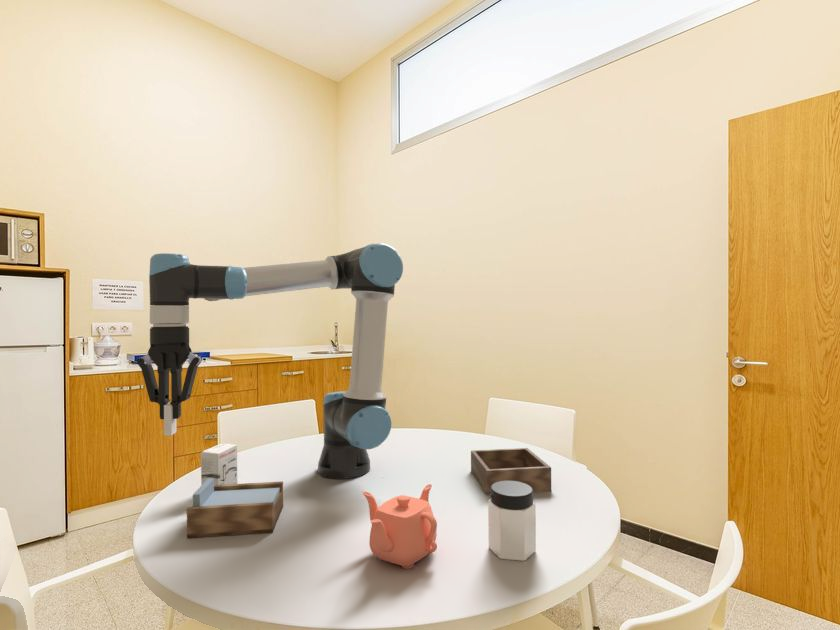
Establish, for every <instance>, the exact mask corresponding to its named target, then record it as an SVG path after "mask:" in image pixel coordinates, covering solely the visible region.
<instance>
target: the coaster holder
mask: <svg viewBox="0 0 840 630" xmlns="http://www.w3.org/2000/svg"><path fill="white" fill-rule="evenodd" d="M470 472H471V473H472V475H473V476H474V478H475V479H476V481H477V483H479V485H480V487H481V488H482V490H483V491H484V492H485V494H486V495H490V490H491V485H492V484H494V483H496V482H499V481H518V482H522V483H525V484H527V485H529V486H531V487H532V489H533V493H535V492H536V493H537V492H551V491H552V467H551V466H550V465H549V464H548V463H547V462H545V461H544V460H543V459H542V458H541V457H539V456H538V455H537V454H535V452H533V451H532V450H530V449H529V448H528V447H521V448H520V447H518V448H497V449H478V450H477V449H474V450H472V449H471V450H470Z"/></svg>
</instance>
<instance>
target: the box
mask: <svg viewBox="0 0 840 630" xmlns="http://www.w3.org/2000/svg"><path fill="white" fill-rule="evenodd" d="M277 487H280V493H279V495H278V497H277V500H276V502H275V504H274V506H273V502H267V503H250V504H232V505H215V506H198V507H193V506H188V507H187V508H186V539H198V538H199V539H200V538H213V537H214V538H215V537H227V536H228V537H229V536H243V535H246V536H247V535H259V534H273V532H274V531H275V528H276V525H277V523H278V522H279V521H278V520H279V518H280V516H281V513H282V510H283V508H284V481H268V482H267V481H266V482H264V481H263V482H248V483H245V482H244V483H237V484H226V485H214V491H221V490H240V489H258V488H277Z"/></svg>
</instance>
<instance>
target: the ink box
mask: <svg viewBox="0 0 840 630" xmlns="http://www.w3.org/2000/svg"><path fill="white" fill-rule="evenodd" d="M200 474H201V475H200V476H201V477H200V478H201V479H200V480H201V484H200V486H201V485H202V484H203V483H204V482H205V481H206V480H207V479H214V485H226V484H238V444H233V443H220V444H217V445H214V446H212V447H210V448H207V449H204V450H202V452H200Z"/></svg>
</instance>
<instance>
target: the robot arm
mask: <svg viewBox="0 0 840 630" xmlns="http://www.w3.org/2000/svg"><path fill="white" fill-rule="evenodd" d="M149 259H150V260H149V277H148V279H149V280H148V282H149V324H150V325H152V326H150V328H149V346H150V347H149V349H148V350H147V354H146V355H144V356H142V357H139V358H137V359H136V360H135V361H136V363H137V365H138V366H139V368H140V369H141V372H142V376H143V380H144V384H145V388H146V391H147V395H148V398H149V401H150V402H151V403H156V404H158V405H159V419H160V420H163V436H165V437H166V436H173V435H174V434H176V433H177V431H178V430H177V429H178V428H177V425H178V423H177V420H178V419H180V418H181V415H182V402H185V401H188V400H189V399H190V398H191V395H192V391H193V387H194V384H195V380H196V375H197V372H198V368H199V366H200V364H201V362H202V361H203V357H202V356H200V355H199V356H198V355H196V354H194V353H192V348H191V347H190V327H189V326H187V324H189V323H190V302H189V301H190V299H204V300H206V301H207V302H216V301H220V300H240V299H241V300H242V299H244V298H245V297H251V296H260V295H268V294H278V293H284V292H285V293H286V292H293V291H294V292H295V291H301V290H310V289H311V290H312V289H320V288H326V287H328V288H329V289H331V290H341V289H347V290H348V289H349V290H350V294H352V296H353V297H354V298H355V312H354V322H353V337H352V350H351V361H350V362H351V363H350V374H349V375H350V376H349V387H348V389H347V390H344V391H343V390H342V391H333V392H328V393H326V394H325V395H324V396H323V403H322V407H323V446H322V449H321V454H320V457H319V460H318V462H317V473H318V475H320V476H322V477H324V478H328V479H335V480H336V479H337V480H338V479H342V480H343V479H352V478H357V477H360V476H363V475H365V474H368V472H370V469H371V460H370V457H369V453H368V451H367V450H372V449H376V448H378V447H379V446H381V445H382V444H383V443H384V442H385V441H386V440H387V438H388V437H389V435H390V433H391V430H392V417H391V415H390V413H389V412H388V411H387V407H386V406H387V395H386V394H385V393H384V392H383V390H382V385H383V371H384V369H383V368H384V361H385V360H384V358H385V346H386V332H387V318H388V317H387V316H388V304H389V301H390V300H391V299H392V298H394V297H395V289H396V284H397V283H398V282H399V281H400V280H401V278H402V276H403V272H404V264H403V260H402V257H401V256H400V253H398V251H397V250H396V248H394V247H392V246H391V245H390V244H389V245H388V244H386V243H382V242H381V243H380V242H379V243H370V244H367V245H365V246H363V247H361V248H360V247H359V248H356V249H354V250H351V251H348V252H344V253H342V254H337V255H329V256H327V257H326V258H325V259H324V260H314V261H313V260H312V261H311V260H310V261H303V262H292V263H291V262H290V263H281V264H280V263H279V264H271V265H268V264H267V265H259V266H247V267H240V266H232V265H229V266H228V265H227V266H226V265H225V266H224V265H202V264H201V265H200V264H199V265H198V264H194V263H193V264H192V263H190V259H189V256H187V255H186V254H181V253H179V254H178V253H177V254H176V253H165V252H164V253H161V252H160V253H155V254H153V255H152V256H151V257H150V258H149ZM187 360H188V361H187ZM186 361H187V362H188V367H187V371H186V374H185V377H184V382H183V380H182V377H183V376H182V375H183V374H182V373H183V365H184V364H185V362H186ZM152 363H154V364H155V365H156V366H157V367H156V368H157V370H156V371H157V374H158V377H157V378H158V381H157V379H156V375H155V370H154V367H153V365H152ZM170 374H171V375H170ZM170 378H171V379H170ZM170 380H171V381H170ZM170 382H171V383H170ZM182 382H183V386H182ZM170 392H171V395H170ZM170 396H171V399H170Z"/></svg>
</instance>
